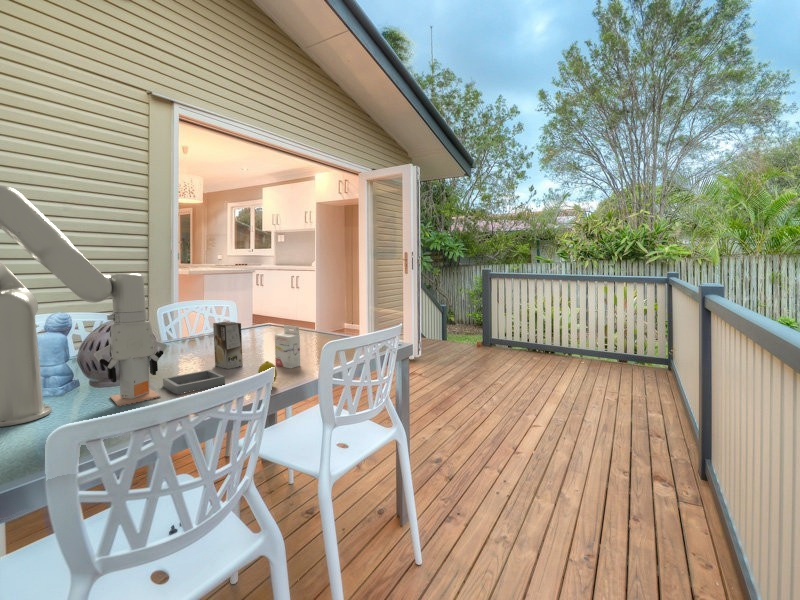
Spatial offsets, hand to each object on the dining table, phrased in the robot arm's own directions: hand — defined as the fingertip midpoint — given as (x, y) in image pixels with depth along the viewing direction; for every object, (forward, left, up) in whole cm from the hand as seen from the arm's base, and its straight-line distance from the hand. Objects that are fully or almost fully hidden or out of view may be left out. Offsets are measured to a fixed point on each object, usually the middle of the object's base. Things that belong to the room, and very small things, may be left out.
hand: (133, 377), depth 115 cm
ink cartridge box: (+49, 0, -6) cm, 49 cm away
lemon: (+31, -18, -6) cm, 36 cm away
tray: (+16, 0, -6) cm, 17 cm away
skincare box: (0, 0, -5) cm, 5 cm away
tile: (0, 0, -6) cm, 6 cm away
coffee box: (+34, +16, -6) cm, 38 cm away
